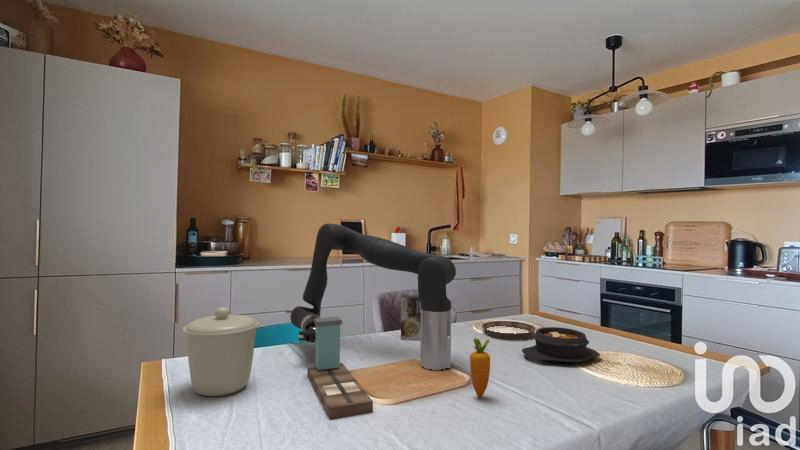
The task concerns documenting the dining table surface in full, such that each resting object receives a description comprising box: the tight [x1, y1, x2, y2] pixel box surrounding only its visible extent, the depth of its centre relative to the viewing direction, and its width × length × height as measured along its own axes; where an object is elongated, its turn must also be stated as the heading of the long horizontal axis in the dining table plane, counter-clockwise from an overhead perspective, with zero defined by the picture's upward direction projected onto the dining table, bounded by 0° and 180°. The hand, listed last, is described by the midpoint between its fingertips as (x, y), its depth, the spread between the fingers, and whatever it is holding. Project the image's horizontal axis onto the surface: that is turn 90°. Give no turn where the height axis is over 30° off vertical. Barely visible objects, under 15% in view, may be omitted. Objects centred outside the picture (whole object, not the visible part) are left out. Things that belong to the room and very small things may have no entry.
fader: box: [314, 316, 343, 370], centre depth 114 cm, size 5×7×13 cm
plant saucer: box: [481, 320, 537, 341], centre depth 163 cm, size 21×21×3 cm
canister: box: [182, 306, 260, 397], centre depth 106 cm, size 18×18×21 cm
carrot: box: [469, 337, 491, 399], centre depth 101 cm, size 5×5×15 cm
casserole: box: [521, 326, 601, 364], centre depth 133 cm, size 25×19×8 cm
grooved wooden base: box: [306, 362, 374, 420], centre depth 104 cm, size 28×10×3 cm, turn 22°
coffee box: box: [400, 293, 421, 341], centre depth 156 cm, size 9×6×16 cm
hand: (324, 341), depth 118 cm, fingers closed
